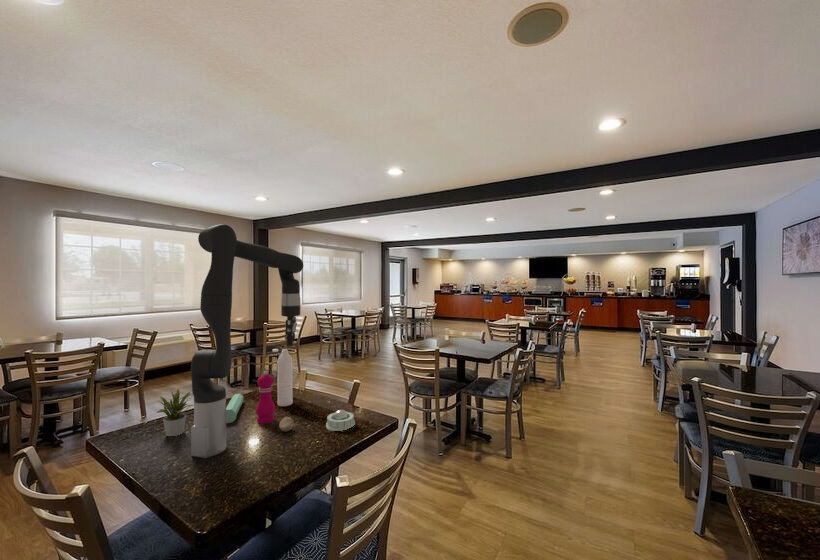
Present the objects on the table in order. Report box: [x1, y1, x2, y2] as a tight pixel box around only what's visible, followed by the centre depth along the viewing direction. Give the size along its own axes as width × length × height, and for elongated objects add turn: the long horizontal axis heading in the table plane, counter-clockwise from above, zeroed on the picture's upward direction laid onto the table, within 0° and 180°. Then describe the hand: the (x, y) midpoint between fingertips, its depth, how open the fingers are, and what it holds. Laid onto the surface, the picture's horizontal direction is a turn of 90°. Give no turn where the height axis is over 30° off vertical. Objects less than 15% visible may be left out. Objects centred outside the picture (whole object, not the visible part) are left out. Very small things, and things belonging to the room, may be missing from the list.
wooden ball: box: [278, 416, 294, 432], centre depth 131 cm, size 5×5×5 cm
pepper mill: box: [255, 370, 276, 425], centre depth 141 cm, size 7×7×20 cm
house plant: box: [155, 388, 194, 437], centre depth 129 cm, size 14×14×16 cm
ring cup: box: [325, 411, 356, 432], centre depth 136 cm, size 11×11×4 cm
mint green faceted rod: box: [226, 393, 244, 424], centre depth 151 cm, size 6×6×25 cm
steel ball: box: [334, 409, 347, 420], centre depth 136 cm, size 5×5×5 cm
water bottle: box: [272, 348, 294, 407], centre depth 160 cm, size 9×6×25 cm
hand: (291, 343), depth 147 cm, fingers open, 8 cm apart
